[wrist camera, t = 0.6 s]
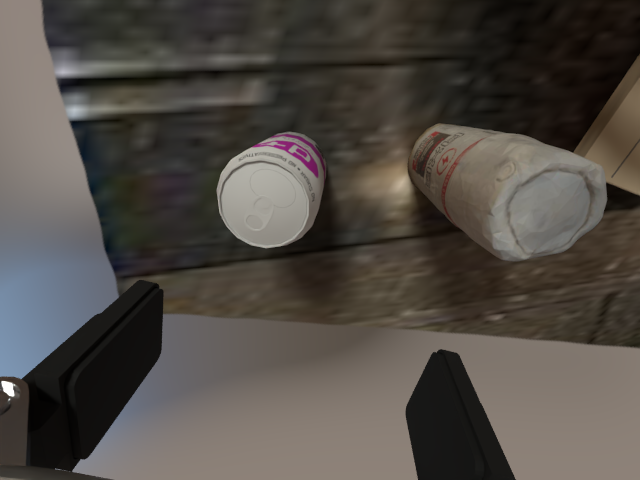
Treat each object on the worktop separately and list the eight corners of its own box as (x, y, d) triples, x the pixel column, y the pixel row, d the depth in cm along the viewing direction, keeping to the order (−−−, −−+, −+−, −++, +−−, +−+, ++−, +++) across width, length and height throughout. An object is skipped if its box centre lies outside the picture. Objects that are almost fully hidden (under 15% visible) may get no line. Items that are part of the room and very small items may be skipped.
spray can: (458, 103, 34) (590, 107, 16) (497, 164, 37) (651, 229, 18) (392, 155, 37) (440, 210, 19) (431, 209, 39) (509, 305, 21)
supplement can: (277, 116, 36) (236, 127, 22) (340, 156, 37) (338, 189, 24) (246, 178, 39) (193, 221, 25) (305, 213, 40) (285, 271, 27)
